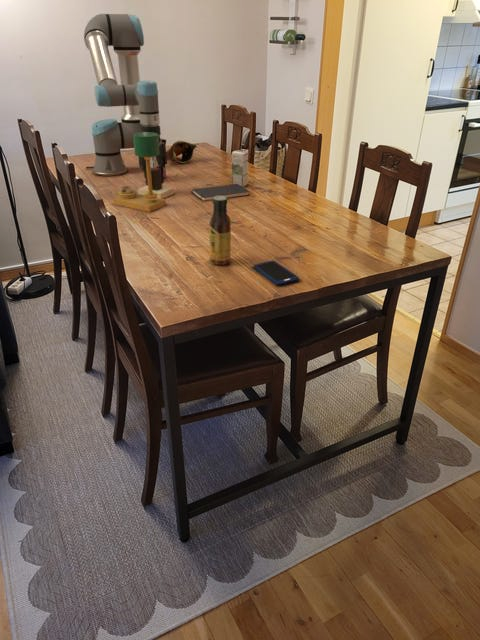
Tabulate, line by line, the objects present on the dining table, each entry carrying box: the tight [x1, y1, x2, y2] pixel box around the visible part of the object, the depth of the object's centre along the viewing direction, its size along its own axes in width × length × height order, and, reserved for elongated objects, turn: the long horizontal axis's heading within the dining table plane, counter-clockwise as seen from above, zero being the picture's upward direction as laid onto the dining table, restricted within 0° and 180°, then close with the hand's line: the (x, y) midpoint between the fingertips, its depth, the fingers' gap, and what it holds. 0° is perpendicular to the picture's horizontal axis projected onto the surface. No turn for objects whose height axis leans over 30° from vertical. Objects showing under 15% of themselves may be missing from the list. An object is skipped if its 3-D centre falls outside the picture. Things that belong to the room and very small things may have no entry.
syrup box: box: [231, 149, 249, 188], centre depth 212 cm, size 6×6×14 cm
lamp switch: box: [121, 185, 133, 194], centre depth 191 cm, size 4×4×2 cm
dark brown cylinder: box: [151, 167, 163, 190], centre depth 199 cm, size 6×6×8 cm
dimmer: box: [136, 184, 175, 199], centre depth 201 cm, size 12×10×3 cm
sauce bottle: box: [208, 196, 232, 266], centre depth 140 cm, size 7×6×20 cm
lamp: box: [133, 132, 160, 199], centre depth 180 cm, size 9×9×23 cm
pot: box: [166, 140, 199, 164], centre depth 251 cm, size 17×11×18 cm
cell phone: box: [252, 260, 300, 286], centre depth 138 cm, size 7×14×1 cm, turn 30°
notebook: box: [191, 183, 250, 202], centre depth 203 cm, size 13×2×21 cm
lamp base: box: [113, 189, 167, 213], centre depth 190 cm, size 18×10×4 cm, turn 60°
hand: (155, 184), depth 200 cm, fingers closed on dark brown cylinder, 6 cm apart
